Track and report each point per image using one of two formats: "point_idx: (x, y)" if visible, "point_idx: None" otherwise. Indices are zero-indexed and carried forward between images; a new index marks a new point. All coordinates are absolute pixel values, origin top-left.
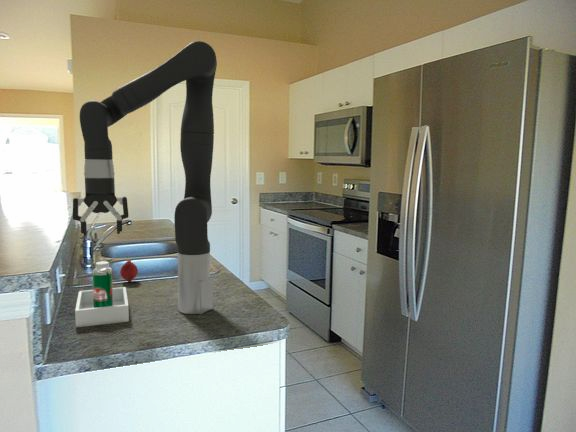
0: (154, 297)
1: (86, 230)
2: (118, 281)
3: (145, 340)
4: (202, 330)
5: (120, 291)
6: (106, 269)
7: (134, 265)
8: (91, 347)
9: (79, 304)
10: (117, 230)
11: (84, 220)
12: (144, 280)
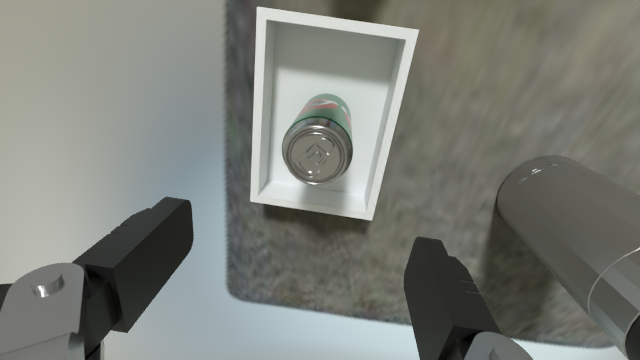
0: (505, 30)
1: (173, 253)
2: None
3: (371, 293)
4: None
5: (395, 38)
6: (332, 159)
7: None
8: (285, 279)
9: (259, 158)
10: (410, 301)
11: (98, 353)
12: None
